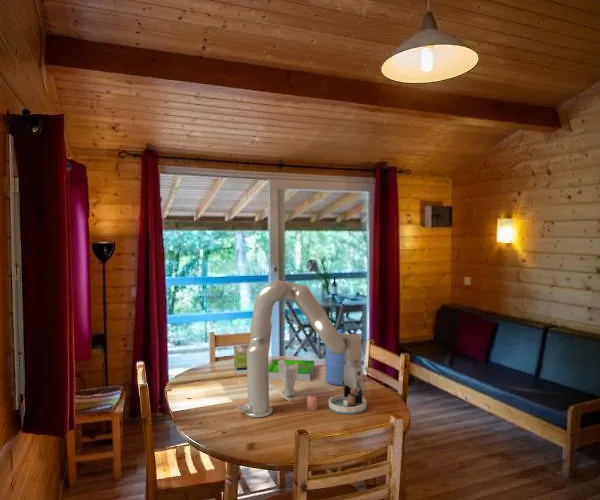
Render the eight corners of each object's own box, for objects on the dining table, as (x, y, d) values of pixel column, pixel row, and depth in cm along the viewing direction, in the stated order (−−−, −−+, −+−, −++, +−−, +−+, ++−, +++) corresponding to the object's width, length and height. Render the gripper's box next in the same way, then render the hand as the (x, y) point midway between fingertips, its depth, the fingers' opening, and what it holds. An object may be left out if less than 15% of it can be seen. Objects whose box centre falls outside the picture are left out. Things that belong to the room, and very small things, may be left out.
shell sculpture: (300, 395, 224) (300, 359, 224) (288, 399, 218) (288, 362, 218) (288, 391, 230) (288, 356, 230) (276, 395, 224) (276, 359, 224)
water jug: (342, 388, 235) (342, 334, 234) (319, 381, 245) (319, 330, 244) (360, 380, 246) (360, 329, 245) (337, 375, 257) (337, 326, 256)
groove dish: (341, 417, 197) (341, 410, 197) (321, 404, 212) (321, 397, 212) (373, 410, 204) (373, 403, 204) (352, 398, 220) (352, 392, 220)
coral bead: (310, 411, 203) (309, 398, 203) (305, 408, 207) (305, 395, 207) (318, 409, 205) (318, 396, 205) (314, 406, 209) (313, 393, 209)
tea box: (233, 369, 269) (233, 344, 269) (250, 368, 272) (250, 343, 271) (236, 377, 255) (236, 351, 254) (254, 375, 257) (253, 349, 257)
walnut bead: (351, 410, 201) (351, 397, 201) (346, 407, 205) (346, 394, 205) (359, 409, 203) (359, 395, 203) (354, 405, 207) (354, 392, 207)
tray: (273, 367, 274) (273, 359, 274) (314, 368, 271) (314, 360, 271) (264, 380, 249) (264, 371, 249) (309, 382, 246) (309, 373, 246)
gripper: (370, 365, 197) (371, 404, 198) (349, 356, 213) (349, 392, 213) (356, 368, 194) (356, 407, 195) (335, 358, 210) (335, 395, 210)
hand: (352, 399), depth 204 cm, fingers open, 9 cm apart
